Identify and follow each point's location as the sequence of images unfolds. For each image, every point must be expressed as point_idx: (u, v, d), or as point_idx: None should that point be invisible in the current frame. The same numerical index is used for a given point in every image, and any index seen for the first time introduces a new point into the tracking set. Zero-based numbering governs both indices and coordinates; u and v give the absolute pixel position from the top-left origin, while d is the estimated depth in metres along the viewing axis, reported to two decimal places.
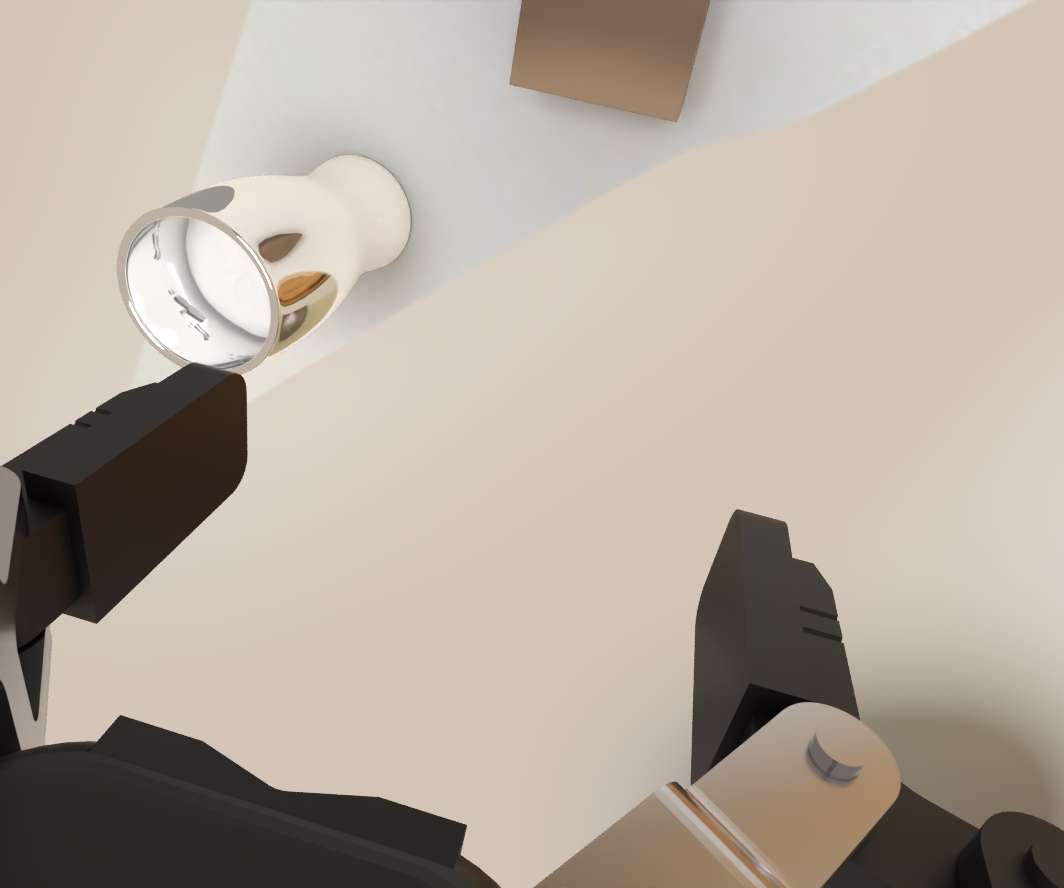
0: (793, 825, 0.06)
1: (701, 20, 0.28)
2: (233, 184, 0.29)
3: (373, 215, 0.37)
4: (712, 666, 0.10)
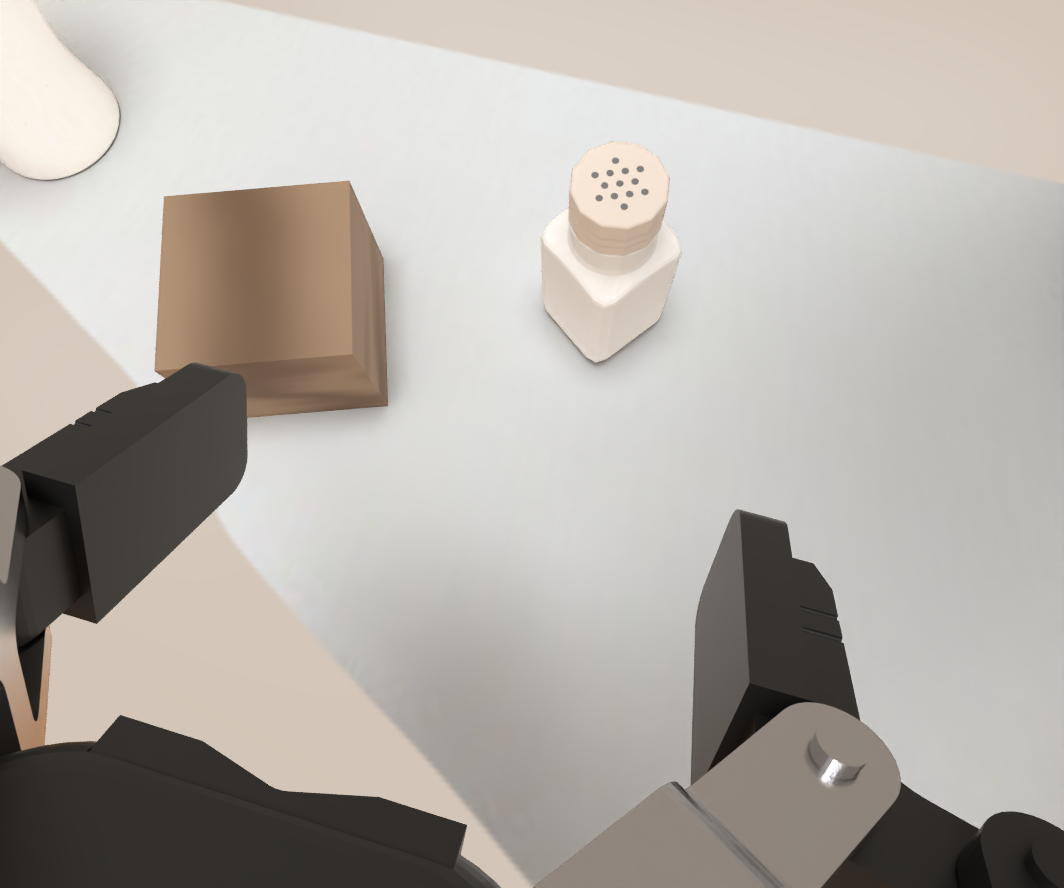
0: (793, 825, 0.06)
1: (256, 360, 0.27)
2: None
3: (25, 110, 0.32)
4: (712, 666, 0.10)
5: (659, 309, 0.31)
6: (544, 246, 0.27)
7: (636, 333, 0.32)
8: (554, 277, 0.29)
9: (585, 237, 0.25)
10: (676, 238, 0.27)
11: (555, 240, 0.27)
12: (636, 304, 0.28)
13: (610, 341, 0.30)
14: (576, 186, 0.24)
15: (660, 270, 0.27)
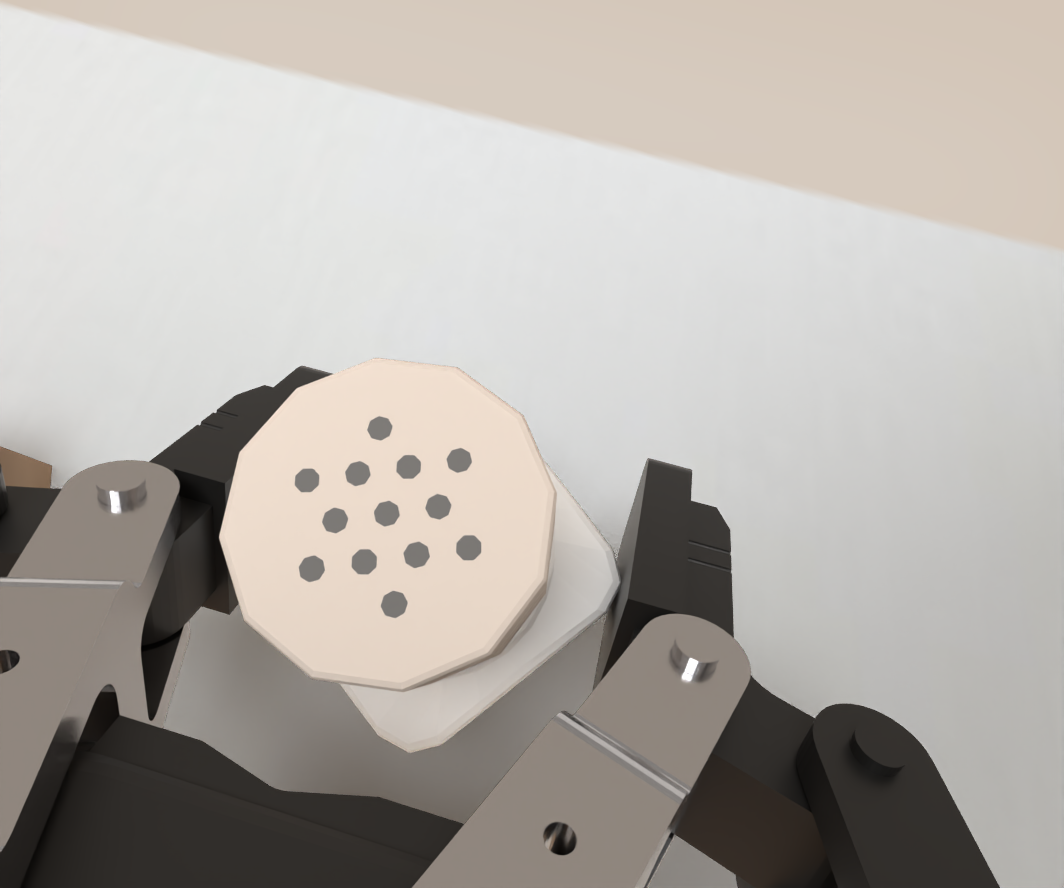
0: (668, 724, 0.07)
1: None
2: None
3: None
4: (615, 599, 0.11)
5: None
6: None
7: None
8: None
9: None
10: (607, 554, 0.10)
11: None
12: None
13: None
14: (240, 522, 0.07)
15: None
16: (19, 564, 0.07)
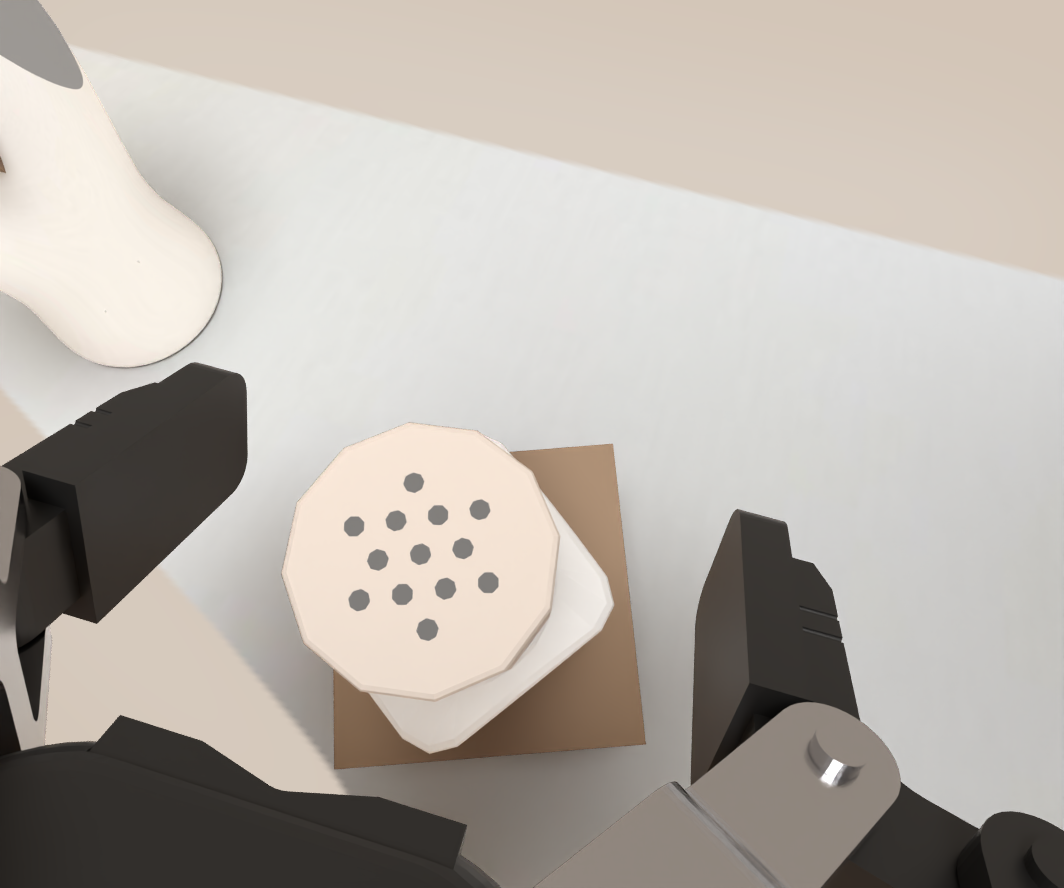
0: (793, 825, 0.06)
1: (494, 753, 0.17)
2: None
3: (107, 296, 0.22)
4: (712, 666, 0.10)
5: None
6: None
7: None
8: None
9: None
10: (601, 579, 0.12)
11: None
12: None
13: None
14: (299, 561, 0.09)
15: None
16: None
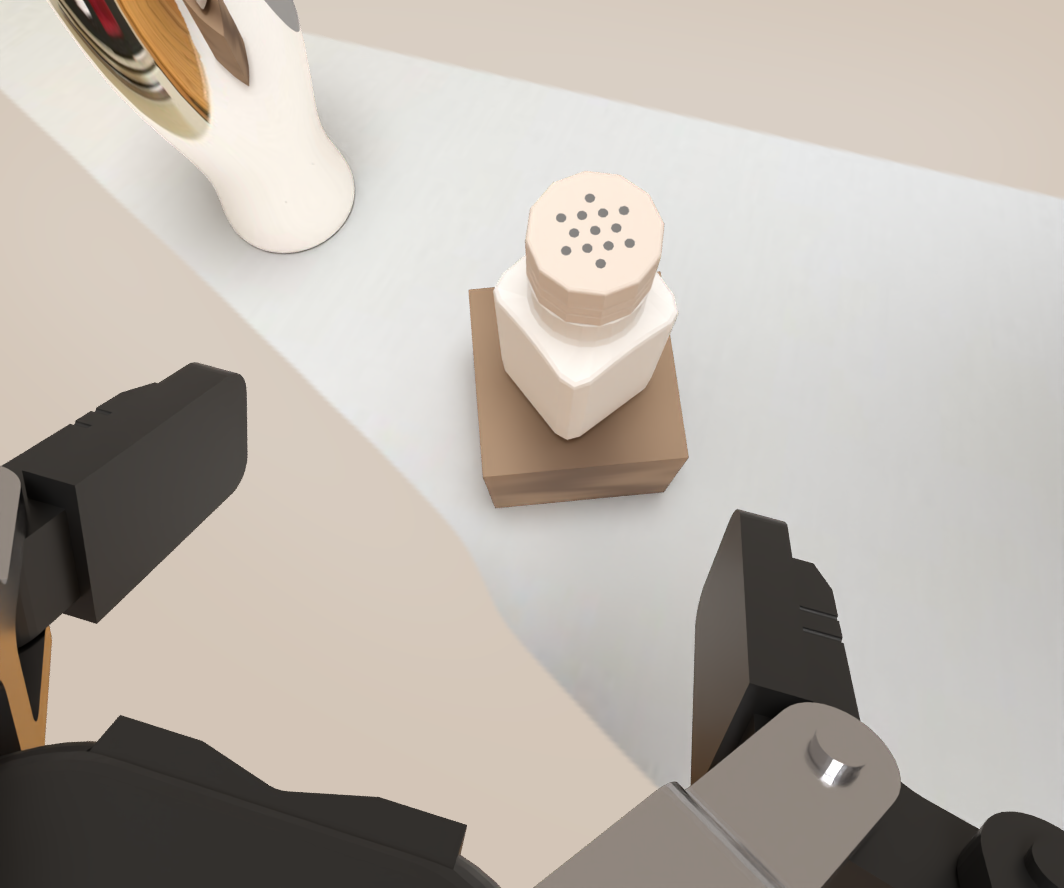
0: (792, 825, 0.06)
1: (588, 465, 0.26)
2: None
3: (290, 189, 0.31)
4: (712, 666, 0.10)
5: (648, 376, 0.24)
6: (497, 303, 0.21)
7: (618, 404, 0.25)
8: (512, 340, 0.22)
9: (548, 300, 0.18)
10: (671, 295, 0.20)
11: (511, 296, 0.20)
12: (618, 378, 0.22)
13: (584, 419, 0.23)
14: (535, 233, 0.17)
15: (650, 339, 0.20)
16: None
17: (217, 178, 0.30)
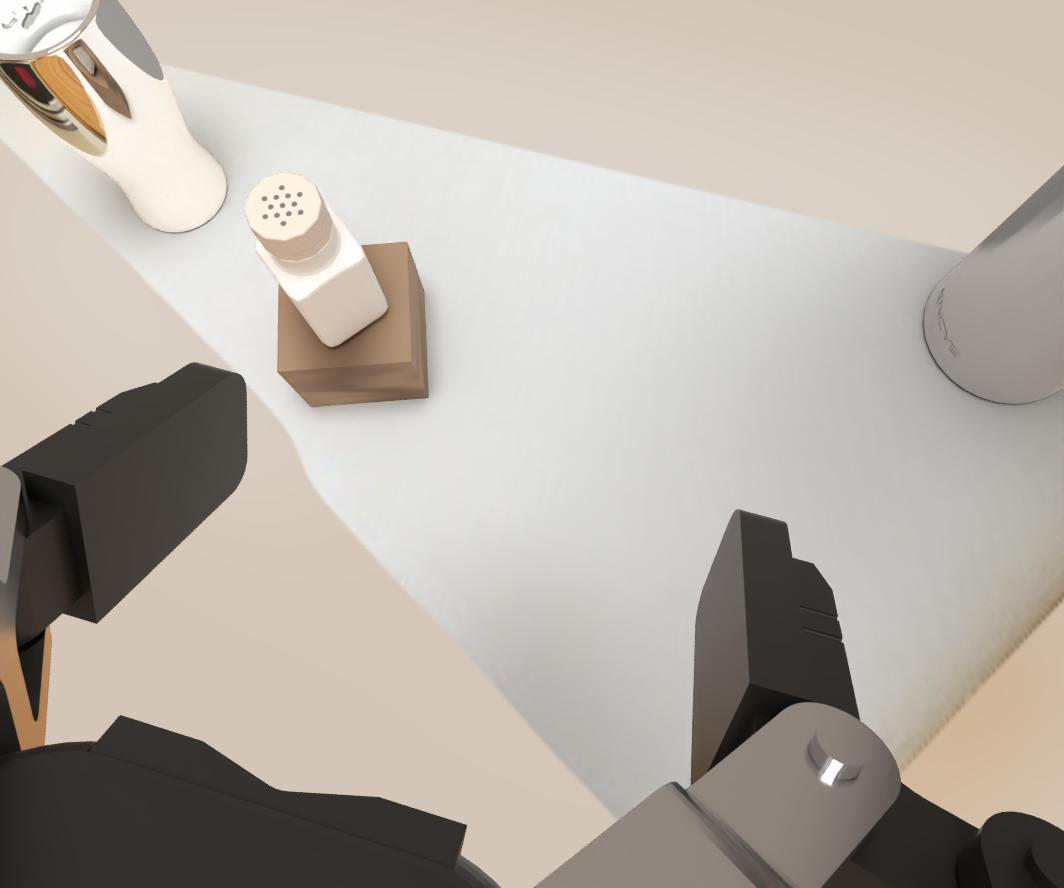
0: (792, 825, 0.06)
1: (346, 365, 0.39)
2: (142, 44, 0.38)
3: (170, 186, 0.45)
4: (712, 666, 0.10)
5: (375, 304, 0.38)
6: (256, 252, 0.35)
7: (362, 323, 0.39)
8: None
9: (265, 246, 0.32)
10: (358, 246, 0.34)
11: (262, 247, 0.34)
12: (337, 299, 0.35)
13: (329, 329, 0.37)
14: (249, 207, 0.31)
15: (343, 272, 0.34)
16: None
17: (116, 178, 0.43)
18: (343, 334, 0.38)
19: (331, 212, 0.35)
